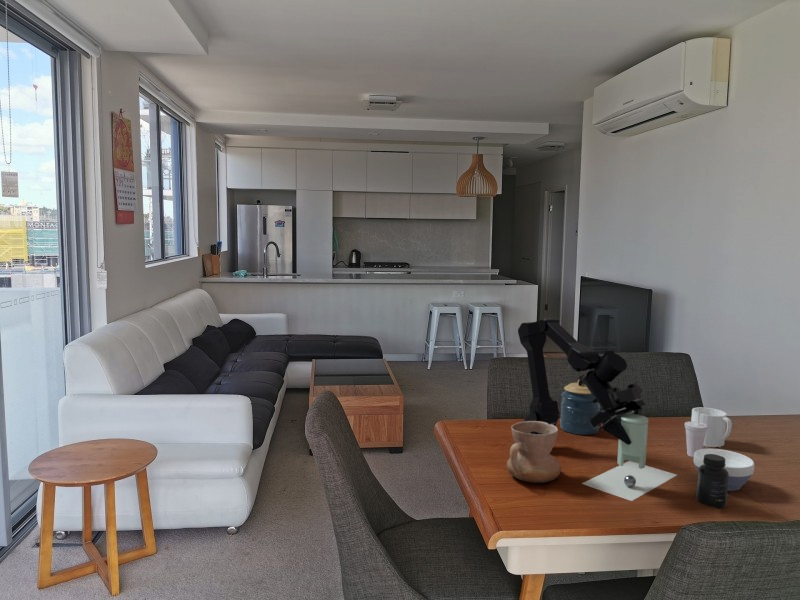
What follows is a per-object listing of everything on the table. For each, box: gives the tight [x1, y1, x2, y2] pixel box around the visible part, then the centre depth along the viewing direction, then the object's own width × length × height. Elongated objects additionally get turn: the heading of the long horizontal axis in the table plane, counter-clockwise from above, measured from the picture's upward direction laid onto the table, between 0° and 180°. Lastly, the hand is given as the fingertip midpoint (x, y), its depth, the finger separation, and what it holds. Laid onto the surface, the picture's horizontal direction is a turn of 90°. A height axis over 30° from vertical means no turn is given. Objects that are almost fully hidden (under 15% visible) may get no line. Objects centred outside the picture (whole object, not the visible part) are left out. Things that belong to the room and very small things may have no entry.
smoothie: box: [684, 411, 708, 458], centre depth 188 cm, size 6×6×14 cm
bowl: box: [693, 448, 755, 492], centre depth 167 cm, size 14×14×8 cm
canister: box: [559, 379, 601, 436], centre depth 211 cm, size 13×13×18 cm
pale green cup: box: [616, 414, 649, 469], centre depth 162 cm, size 7×7×12 cm
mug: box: [690, 406, 733, 448], centre depth 200 cm, size 13×10×10 cm
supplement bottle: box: [695, 454, 729, 509], centre depth 155 cm, size 7×7×12 cm
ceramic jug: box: [506, 421, 562, 484], centre depth 169 cm, size 18×14×14 cm
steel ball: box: [624, 475, 636, 487], centre depth 163 cm, size 3×3×3 cm
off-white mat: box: [581, 460, 678, 502], centre depth 168 cm, size 26×14×1 cm, turn 132°
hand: (637, 441), depth 161 cm, fingers closed on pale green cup, 7 cm apart
